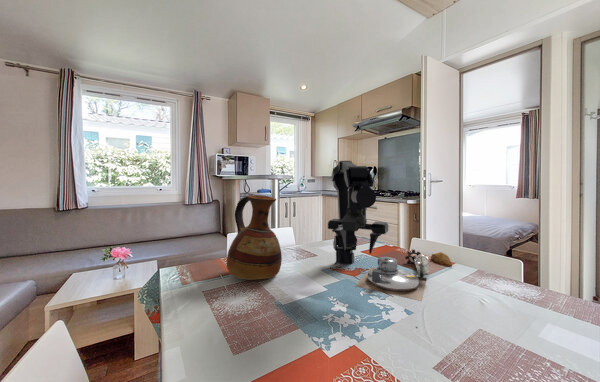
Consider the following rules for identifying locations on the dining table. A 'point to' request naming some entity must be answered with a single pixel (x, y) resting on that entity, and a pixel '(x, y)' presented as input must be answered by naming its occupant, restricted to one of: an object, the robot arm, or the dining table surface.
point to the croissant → (441, 259)
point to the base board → (413, 294)
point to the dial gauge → (421, 266)
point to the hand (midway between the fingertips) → (357, 251)
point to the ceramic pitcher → (254, 242)
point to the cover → (387, 265)
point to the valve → (415, 262)
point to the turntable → (393, 280)
